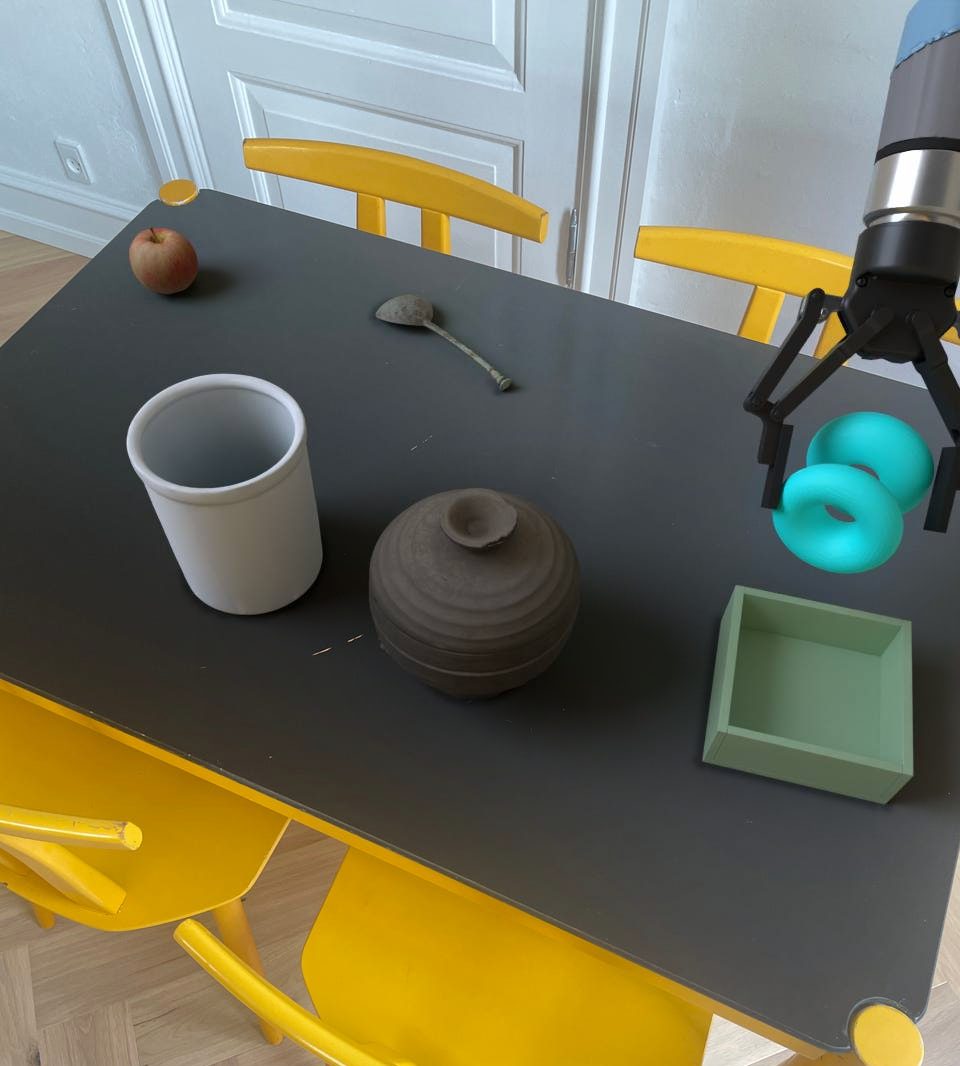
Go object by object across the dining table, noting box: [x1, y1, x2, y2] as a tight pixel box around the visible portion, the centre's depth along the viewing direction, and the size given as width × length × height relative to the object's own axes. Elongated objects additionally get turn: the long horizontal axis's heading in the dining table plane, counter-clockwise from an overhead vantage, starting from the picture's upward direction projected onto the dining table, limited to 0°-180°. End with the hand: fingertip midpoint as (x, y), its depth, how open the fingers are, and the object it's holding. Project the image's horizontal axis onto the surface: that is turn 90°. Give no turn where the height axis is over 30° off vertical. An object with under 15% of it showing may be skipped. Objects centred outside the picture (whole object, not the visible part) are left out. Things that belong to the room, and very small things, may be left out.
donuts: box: [771, 411, 935, 575], centre depth 71 cm, size 10×10×10 cm
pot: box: [368, 487, 581, 701], centre depth 76 cm, size 18×18×20 cm
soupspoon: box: [375, 294, 512, 391], centre depth 107 cm, size 22×3×7 cm
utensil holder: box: [126, 373, 323, 616], centre depth 82 cm, size 15×15×18 cm
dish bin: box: [702, 584, 914, 805], centre depth 78 cm, size 16×16×6 cm
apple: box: [128, 226, 199, 295], centre depth 111 cm, size 8×8×8 cm
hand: (850, 520), depth 70 cm, fingers closed on donuts, 12 cm apart
